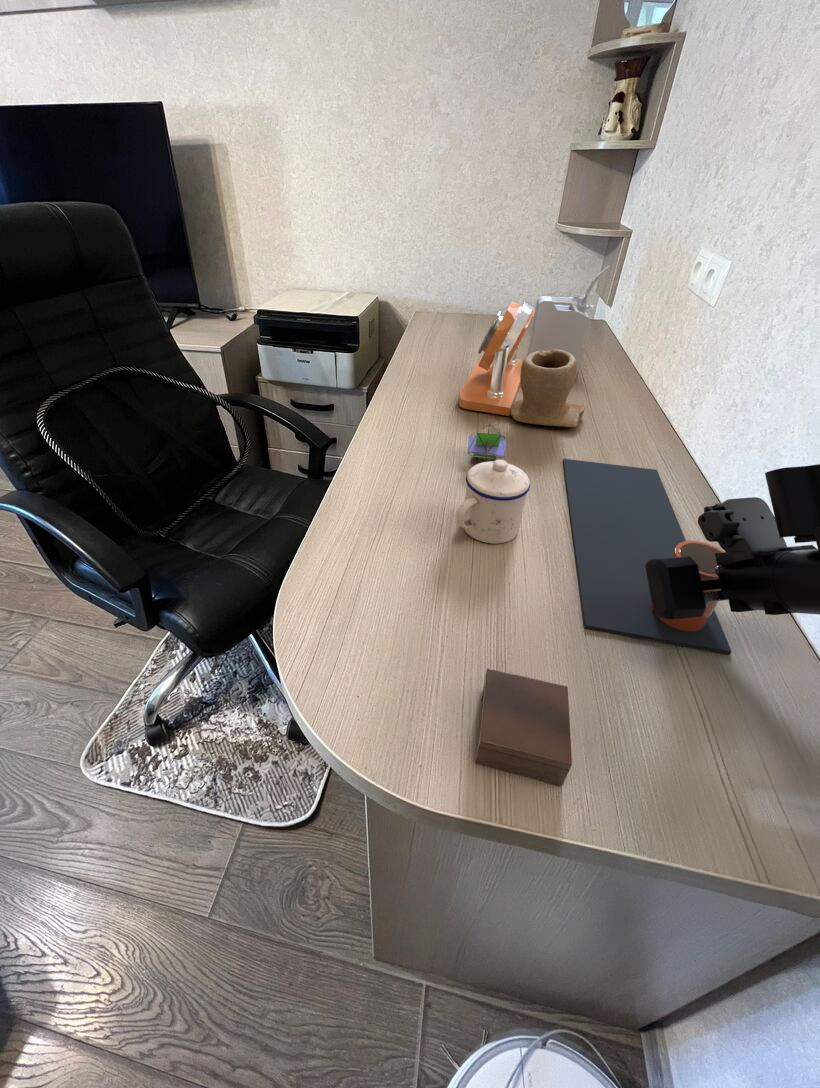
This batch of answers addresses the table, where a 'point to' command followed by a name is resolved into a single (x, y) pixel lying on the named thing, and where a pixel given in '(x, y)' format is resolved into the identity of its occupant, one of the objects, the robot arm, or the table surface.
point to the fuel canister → (562, 323)
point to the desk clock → (498, 363)
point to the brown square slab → (525, 727)
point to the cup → (706, 566)
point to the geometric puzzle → (487, 443)
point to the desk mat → (626, 551)
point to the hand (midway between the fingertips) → (682, 580)
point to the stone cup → (547, 390)
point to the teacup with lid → (493, 501)
